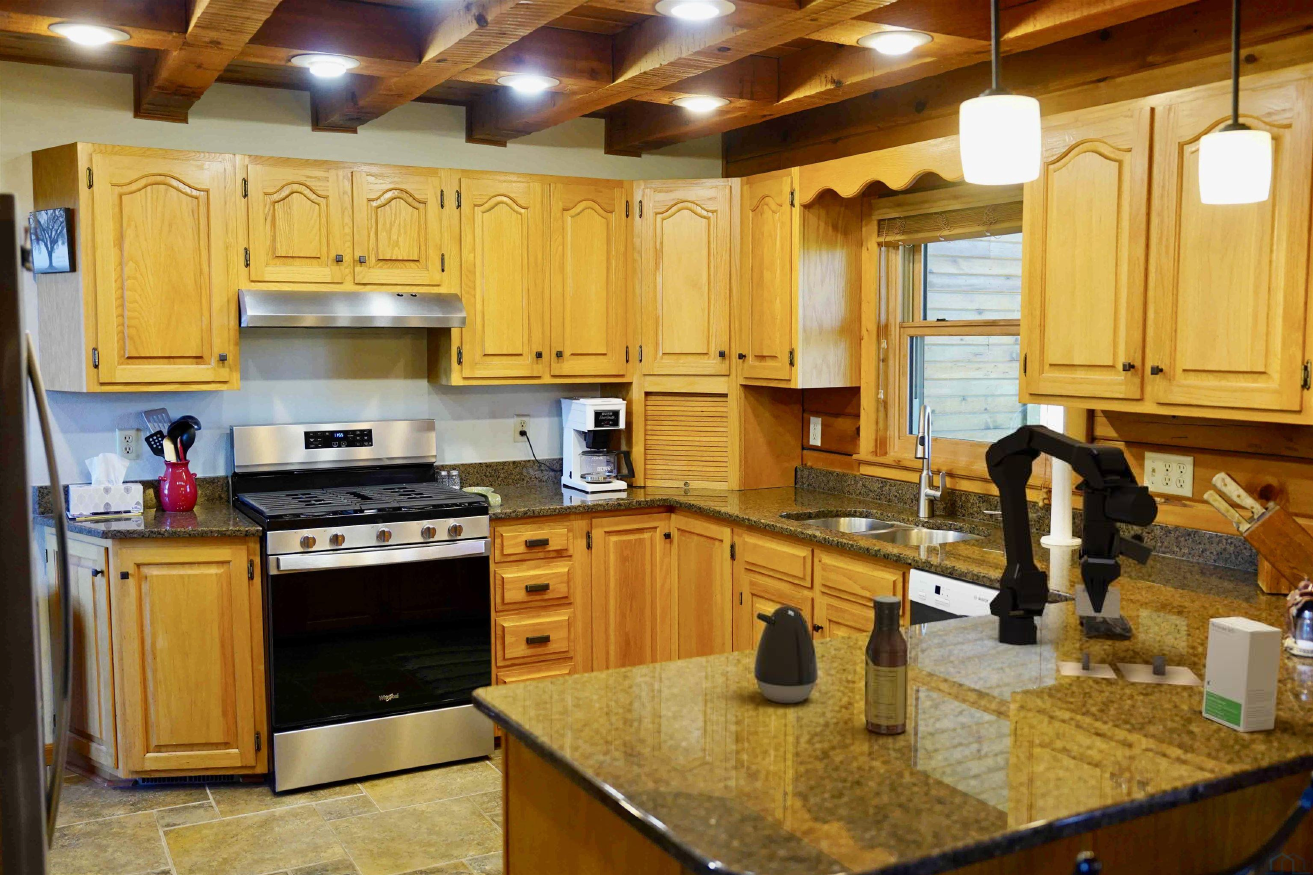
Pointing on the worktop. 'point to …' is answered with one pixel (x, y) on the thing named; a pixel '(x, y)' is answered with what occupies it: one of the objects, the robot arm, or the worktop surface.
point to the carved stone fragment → (1105, 626)
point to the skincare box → (1242, 673)
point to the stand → (1085, 668)
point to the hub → (1159, 673)
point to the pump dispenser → (785, 657)
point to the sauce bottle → (886, 670)
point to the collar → (1109, 607)
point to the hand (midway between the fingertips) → (1096, 608)
